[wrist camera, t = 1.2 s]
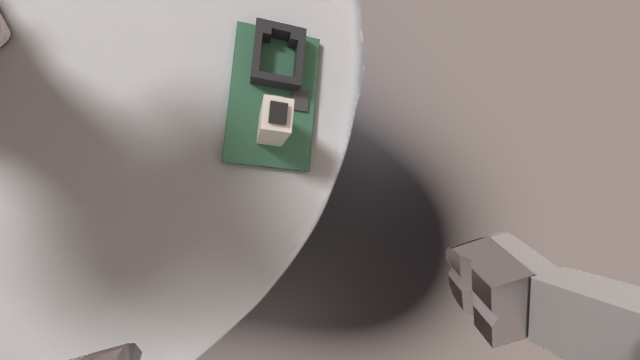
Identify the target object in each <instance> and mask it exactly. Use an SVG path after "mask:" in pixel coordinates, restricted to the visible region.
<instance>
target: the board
mask: <svg viewBox="0 0 640 360" xmlns="http://www.w3.org/2000/svg"><path fill="white" fill-rule="evenodd" d="M306 30H307V29H305V28H301V27H296V26H292V25H288V24H283V23H279V22H274V21H270V20H266V19H261V18H257V19H256V25H253V24H249V23H244V22H240V21H237V30H236V39H235V48H234V57H233V66H232V75H231V84H230V93H229V102H228V111H227V120H226V129H225V138H224V147H223V156H222V162H225V163H234V164H243V165H252V166H261V167H270V168H279V169H288V170H297V171H306V172H308V171H309V164H310V152H311V140H312V128H313V116H314V103H315V91H316V79H317V67H318V54H319V42H320V39H316V38H311V37H307V36H306ZM264 94H266V95H272V96H273V95H275V96H281V97H284V98H290V99H295V100H294V111H293V122H292V133H291V134H290V136H289V137H288V139H287V140H286V141H285V143H284V144H283V145H282V147H280V146H272V145H265V144H257V143H256V142H257V132H258V122H259V114H260V109H261V105H262V101H263V96H264Z"/></svg>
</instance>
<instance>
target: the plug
mask: <svg viewBox="0 0 640 360" xmlns="http://www.w3.org/2000/svg"><path fill="white" fill-rule="evenodd" d="M294 100H295V99H290V98H284V97H281V96H275V95H273V96H272V95H266V94H264V96H263V101H262V105H261V109H260V114H259V122H258V132H257V142H256V143H257V144H265V145H272V146H280V147H282V145H283V144H284V143H285V141H286V140H287V139H288V137H289V136H290V134H291V133H292V122H293V111H294Z"/></svg>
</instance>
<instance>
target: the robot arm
mask: <svg viewBox="0 0 640 360" xmlns="http://www.w3.org/2000/svg"><path fill="white" fill-rule="evenodd" d="M10 35H11V33H10V30H9V28H8V26H7V24H6V22H5V20H4V18H3V16H2V15H1V13H0V47H1V46H2V45H3V44H5V43H6V42H7V41H8V39H9V38H10ZM446 259H447V262H448V263H449V264H450V265H451V267H452V268H451V270H450V272H449V273H448V279H449V285H450V288H451V291H452V294H453V296H454V298H455V299H456V301H457V303H458V304H459V305H460V307H461V308H462V309H463V311H466V312H468V313H470V314H472V315H474V325H475V326H476V328H477V329H478V330H479V332H480V333H481V334H482V335H483V336H484V338H485V339H486V340H487V342H488V343H489V344H490V346H491V347H492V348H495V347H498V346H502V345H506V344H509V343H512V342H516V341H520V340H523V339H527V338H528V340H529V341H530V342H532V343H534V344H536V345H537V346H539V347H541V348H543V349H545V350H547V351H548V352H550V353H552V354H554V355H555V356H557V357H559V358H561V359H563V360H640V287H639V286H635V285H631V284H628V283H624V282H620V281H617V280H613V279H609V278H606V277H602V276H598V275H595V274H591V273H587V272H584V271H580V270H576V269H572V268H569V267H563V268H558V267H557V266H555V265H554V264H553V263H551V262H550V261H548V260H547V259H545V258H544V257H543V256H541V255H540V254H538V253H537V252H535V251H534V250H533V249H531V248H530V247H529V246H527V245H526V244H524V243H523V242H522V241H520V240H519V239H517V238H516V237H514V236H513V235H512V234H510V233H509V232H506V231H500V232H496V233H493V234H490V235H487V236H484V237H482V238H478V239H475V240H472V241H469V242H466V243H463V244H459V245H456V246H452V247H449V248H447V251H446ZM141 354H142V352H141V350H140V349H139V348H138V346H137V345H136V344H135V343H127V344H124V345H120V346H116V347H113V348H109V349H105V350H102V351H98V352H94V353H91V354H88V355H85V356H81V357H78V358H74V359H70V360H140V358H141Z"/></svg>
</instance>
